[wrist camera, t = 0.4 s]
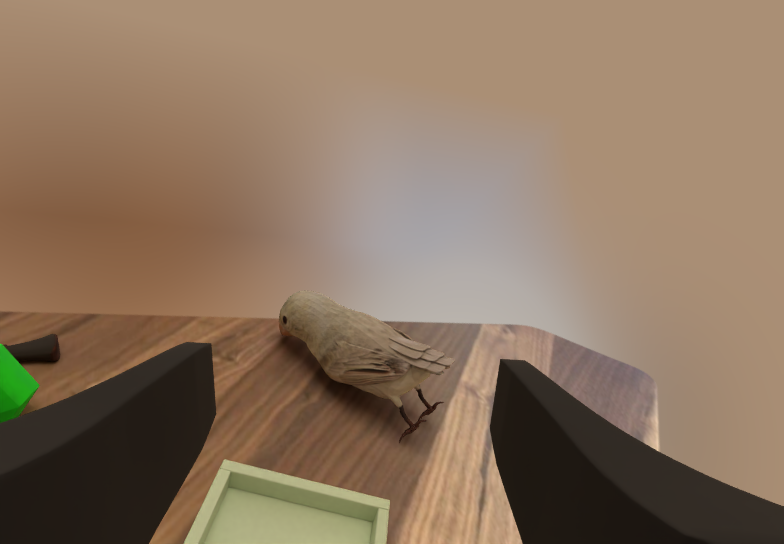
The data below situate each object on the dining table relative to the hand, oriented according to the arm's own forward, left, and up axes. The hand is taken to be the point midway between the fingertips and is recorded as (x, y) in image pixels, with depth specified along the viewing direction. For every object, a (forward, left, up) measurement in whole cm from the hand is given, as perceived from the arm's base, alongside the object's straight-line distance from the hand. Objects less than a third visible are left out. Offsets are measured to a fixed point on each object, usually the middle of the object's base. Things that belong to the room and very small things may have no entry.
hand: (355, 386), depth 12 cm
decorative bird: (+22, -1, -19) cm, 30 cm away
